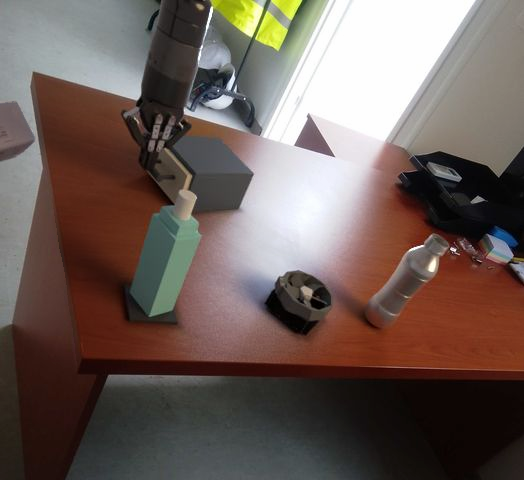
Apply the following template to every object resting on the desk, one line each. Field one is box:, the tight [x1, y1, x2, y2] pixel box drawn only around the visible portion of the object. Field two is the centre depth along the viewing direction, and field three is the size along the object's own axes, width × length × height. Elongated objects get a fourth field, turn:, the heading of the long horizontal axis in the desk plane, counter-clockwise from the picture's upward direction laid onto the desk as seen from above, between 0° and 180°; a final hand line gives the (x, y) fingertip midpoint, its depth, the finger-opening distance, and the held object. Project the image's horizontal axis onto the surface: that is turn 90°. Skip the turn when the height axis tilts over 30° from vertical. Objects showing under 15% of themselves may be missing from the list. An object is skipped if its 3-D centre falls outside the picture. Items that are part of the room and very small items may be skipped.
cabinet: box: [168, 134, 255, 213], centre depth 91 cm, size 15×13×9 cm
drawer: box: [146, 148, 193, 205], centre depth 89 cm, size 18×11×7 cm, turn 132°
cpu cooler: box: [263, 269, 335, 337], centre depth 80 cm, size 10×6×10 cm
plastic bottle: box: [364, 233, 450, 329], centre depth 84 cm, size 6×7×20 cm
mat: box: [123, 283, 179, 325], centre depth 67 cm, size 7×7×1 cm
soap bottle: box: [130, 189, 202, 317], centre depth 61 cm, size 4×5×18 cm
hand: (145, 167), depth 82 cm, fingers closed
